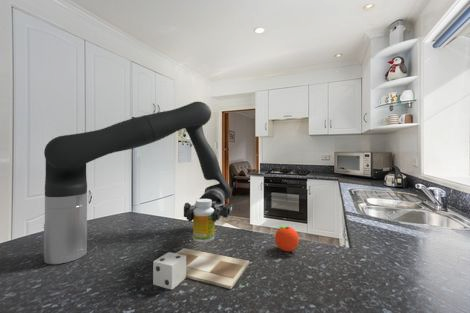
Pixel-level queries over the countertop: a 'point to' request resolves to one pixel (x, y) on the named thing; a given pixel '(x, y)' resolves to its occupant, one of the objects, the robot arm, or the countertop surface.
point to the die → (169, 270)
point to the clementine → (286, 238)
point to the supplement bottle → (203, 221)
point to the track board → (213, 268)
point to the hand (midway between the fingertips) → (202, 217)
